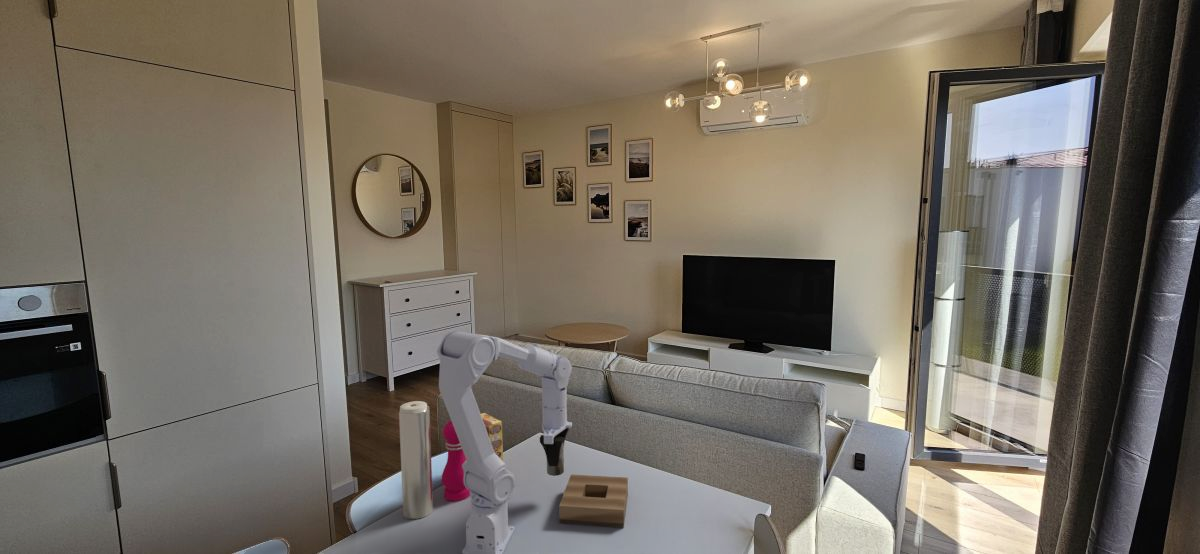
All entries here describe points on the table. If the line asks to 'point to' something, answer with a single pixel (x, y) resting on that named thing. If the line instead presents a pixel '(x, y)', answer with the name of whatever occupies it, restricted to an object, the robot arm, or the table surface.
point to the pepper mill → (454, 467)
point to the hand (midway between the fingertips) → (555, 460)
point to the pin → (560, 468)
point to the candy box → (494, 433)
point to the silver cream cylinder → (416, 459)
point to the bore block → (594, 501)
